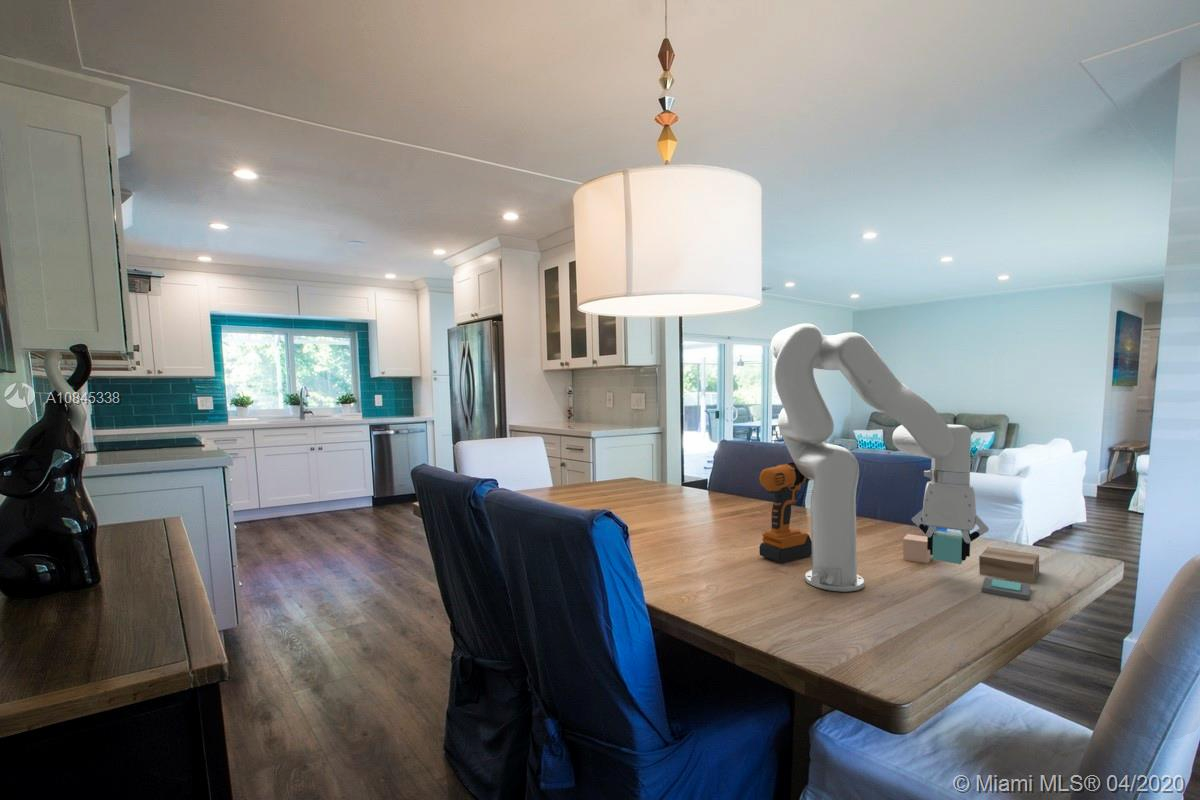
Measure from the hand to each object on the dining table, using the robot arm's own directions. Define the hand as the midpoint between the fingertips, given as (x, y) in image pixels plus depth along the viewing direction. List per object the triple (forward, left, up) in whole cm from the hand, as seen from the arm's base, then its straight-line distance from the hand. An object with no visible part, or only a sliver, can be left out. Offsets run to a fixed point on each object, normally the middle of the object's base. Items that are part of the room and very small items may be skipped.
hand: (948, 555), depth 126 cm
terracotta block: (+13, +8, -5) cm, 16 cm away
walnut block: (+13, -11, -6) cm, 18 cm away
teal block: (0, 0, -1) cm, 1 cm away
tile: (-1, -11, -5) cm, 12 cm away
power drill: (-2, +35, -6) cm, 36 cm away
